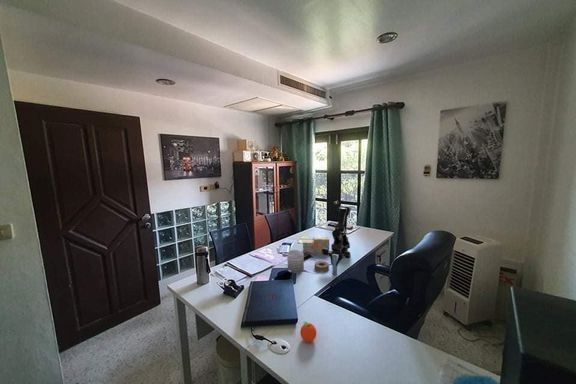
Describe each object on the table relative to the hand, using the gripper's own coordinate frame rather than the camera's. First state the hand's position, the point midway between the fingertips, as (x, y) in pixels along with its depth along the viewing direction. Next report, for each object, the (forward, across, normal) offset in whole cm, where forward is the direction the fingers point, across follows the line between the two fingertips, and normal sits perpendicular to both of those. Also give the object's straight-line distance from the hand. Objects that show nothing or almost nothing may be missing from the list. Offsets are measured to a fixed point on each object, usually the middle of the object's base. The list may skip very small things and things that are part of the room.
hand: (334, 265), depth 151 cm
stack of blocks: (-18, -22, +28) cm, 39 cm away
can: (+6, -27, +4) cm, 28 cm away
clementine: (+46, +1, -36) cm, 58 cm away
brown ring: (0, -10, +9) cm, 14 cm away
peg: (+4, 0, +6) cm, 7 cm away
